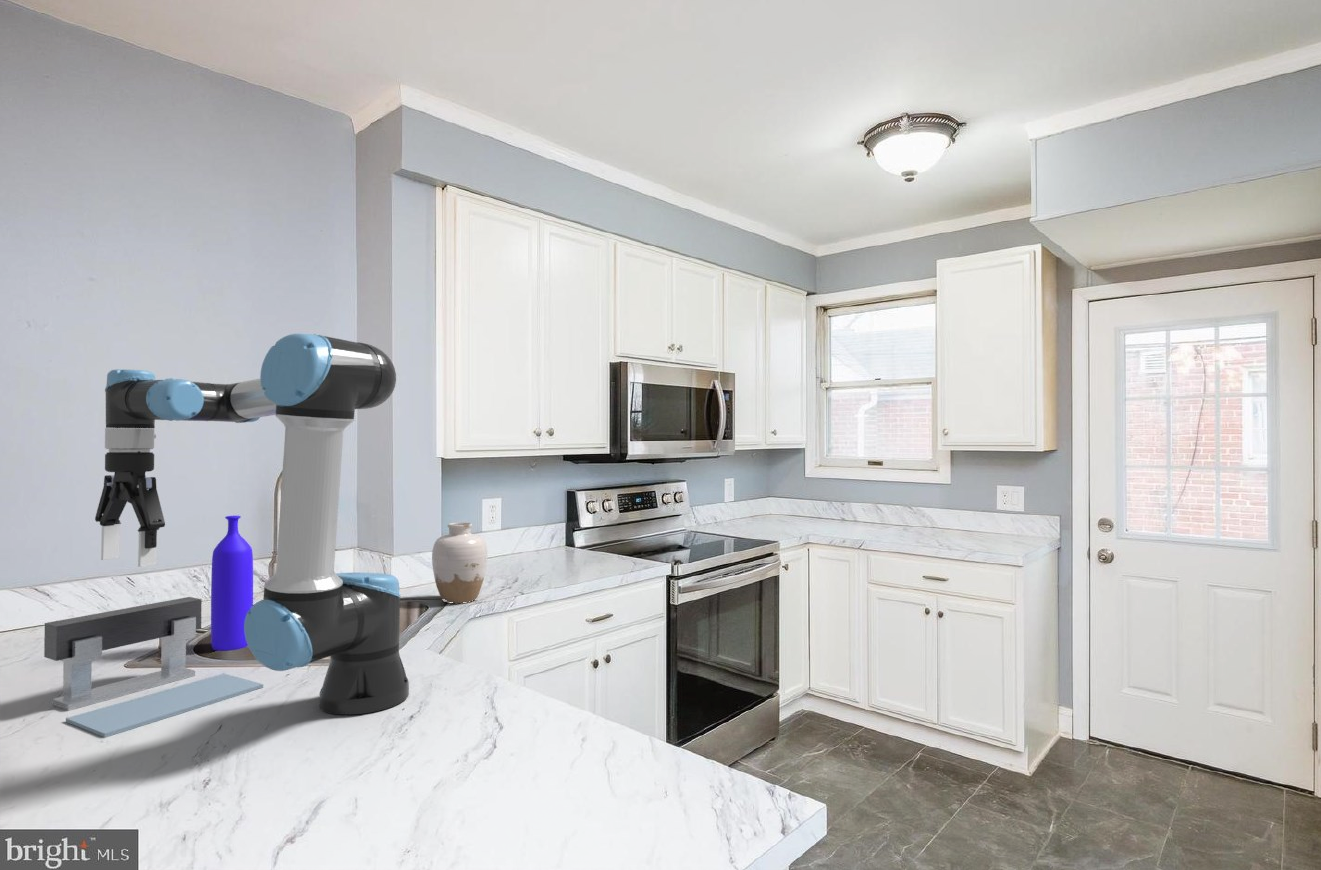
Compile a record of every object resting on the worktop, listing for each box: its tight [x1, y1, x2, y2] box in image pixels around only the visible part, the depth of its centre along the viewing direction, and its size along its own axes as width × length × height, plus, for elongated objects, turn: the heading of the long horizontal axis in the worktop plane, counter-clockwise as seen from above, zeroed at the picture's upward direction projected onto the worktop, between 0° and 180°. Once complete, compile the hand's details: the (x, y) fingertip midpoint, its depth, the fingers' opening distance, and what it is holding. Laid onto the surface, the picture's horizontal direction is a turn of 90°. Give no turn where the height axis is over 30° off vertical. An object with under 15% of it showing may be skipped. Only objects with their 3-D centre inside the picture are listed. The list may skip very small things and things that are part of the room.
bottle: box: [210, 515, 254, 652], centre depth 162 cm, size 8×8×30 cm
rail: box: [43, 596, 203, 662], centre depth 133 cm, size 24×4×6 cm, turn 152°
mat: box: [65, 673, 264, 738], centre depth 126 cm, size 13×26×1 cm, turn 152°
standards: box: [51, 617, 197, 711], centre depth 133 cm, size 8×21×12 cm, turn 152°
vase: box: [431, 522, 488, 604], centre depth 209 cm, size 16×16×23 cm
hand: (128, 562), depth 134 cm, fingers open, 13 cm apart
